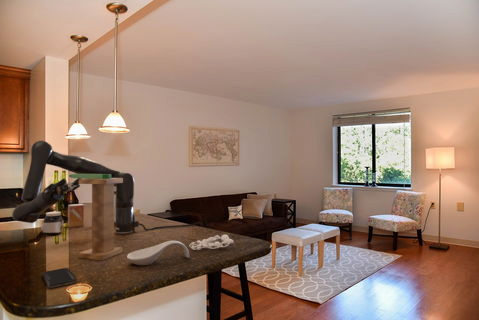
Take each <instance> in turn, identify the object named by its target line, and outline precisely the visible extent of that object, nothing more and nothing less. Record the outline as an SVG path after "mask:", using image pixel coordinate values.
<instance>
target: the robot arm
mask: <svg viewBox="0 0 479 320" xmlns="http://www.w3.org/2000/svg"><path fill="white" fill-rule="evenodd" d="M47 165H48V166H54V167H57V168H60V169H62V170H65V171H68V172H72V173H73V174H111V178H123V183H115V184H114V185H116V223H115V226H114V234H117V235H127V234H128V235H129V234H133V233H135V232H136V231H135V230H136V228H139V226H141V227H142V228H143V229H144V231H153V230H157V229H166V228H184V227H192V226H196V225H200V226H203V223H202V222H198V221H197V222H195V223H189V224H179V225H177V224H175V225H162V226H154V227H152V228H146V226H145V225H144V224H143V223H140V222H139V220H136V219H135V218H136V215H135V214H134V196H135V178H134V176H133V175H132V174H131V173H130V172H126V171H121V170H116V169H113V168H109V167H107V166H105V165H103V164H101V163H100V162H97V161H95V160H93V159H90V158H88V157H83V156H78V155H72V154H71V155H70V154H65V153H61V152H58V151H56V150H53V146H52V145H51V143H50V142H48V141H47V140H38V141H35V142H34V143H33V144H32V145H31V147H30V165H29V170H28V172H27V176H26V180H25V183H24V185H23V189H22V194H21V200H22V201H23V203H21V204H19V205H17V206H16V207H14V209H13V210H12V212H11V213H12V215H11V216H12V219H13V220H14V221H16V222H22V223H27V224H34V223H36V222H37V221H38V220H39V219H40V215H41V214H42V213H44V212H45V211H46V210H48V209H50V208H51V207H53V206H54V205H56V204H57V203H58V202H61V200H63V198H64V196H65V194H67V193H68V192H69V193H73V192H74V191H76V190H77V189H78V188H81V184H79V179H83V178H75V180H74V181H71V182H70V181H69V182H67V179H66V178H62V179H60V180H59V181H57V182H55V183H50V184H49V185H48V186H46V187H45V188H44V189H43V182H44V175H45V170H46V167H47ZM42 189H43V191H42Z"/></svg>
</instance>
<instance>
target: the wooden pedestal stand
mask: <svg viewBox="0 0 479 320" xmlns="http://www.w3.org/2000/svg"><path fill="white" fill-rule="evenodd" d="M115 183H123V178H111V179H94V178H82V179H79V185H91V248H89V249H85V250H83V251H80V252H78V258H79V259H80V258H81V259H87V260H96V261H104V260H108V259H109V258H112V257H115V256H117V255H119V254H122V253H123V251H124V250H123V248H124V247H120V246H119V247H118V246H115V223H114V184H115Z"/></svg>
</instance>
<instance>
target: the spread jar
mask: <svg viewBox="0 0 479 320" xmlns="http://www.w3.org/2000/svg"><path fill="white" fill-rule="evenodd" d="M61 213H62V212H61V211H50V212H49V211H48V212H45V217H44V219H43V221H42V225H41V227H40V230H41V231H42V232H43V234H44V235H45V236H50V237H51V236H58V235H61V234H62V232H63V231H64V217H63V216H62V215H61Z"/></svg>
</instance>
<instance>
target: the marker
mask: <svg viewBox="0 0 479 320" xmlns="http://www.w3.org/2000/svg"><path fill="white" fill-rule="evenodd" d="M68 177H69V178H70V179H78V178H82V179H85V178H94V179H111V174H76V173H71V174H69V176H68Z"/></svg>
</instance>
